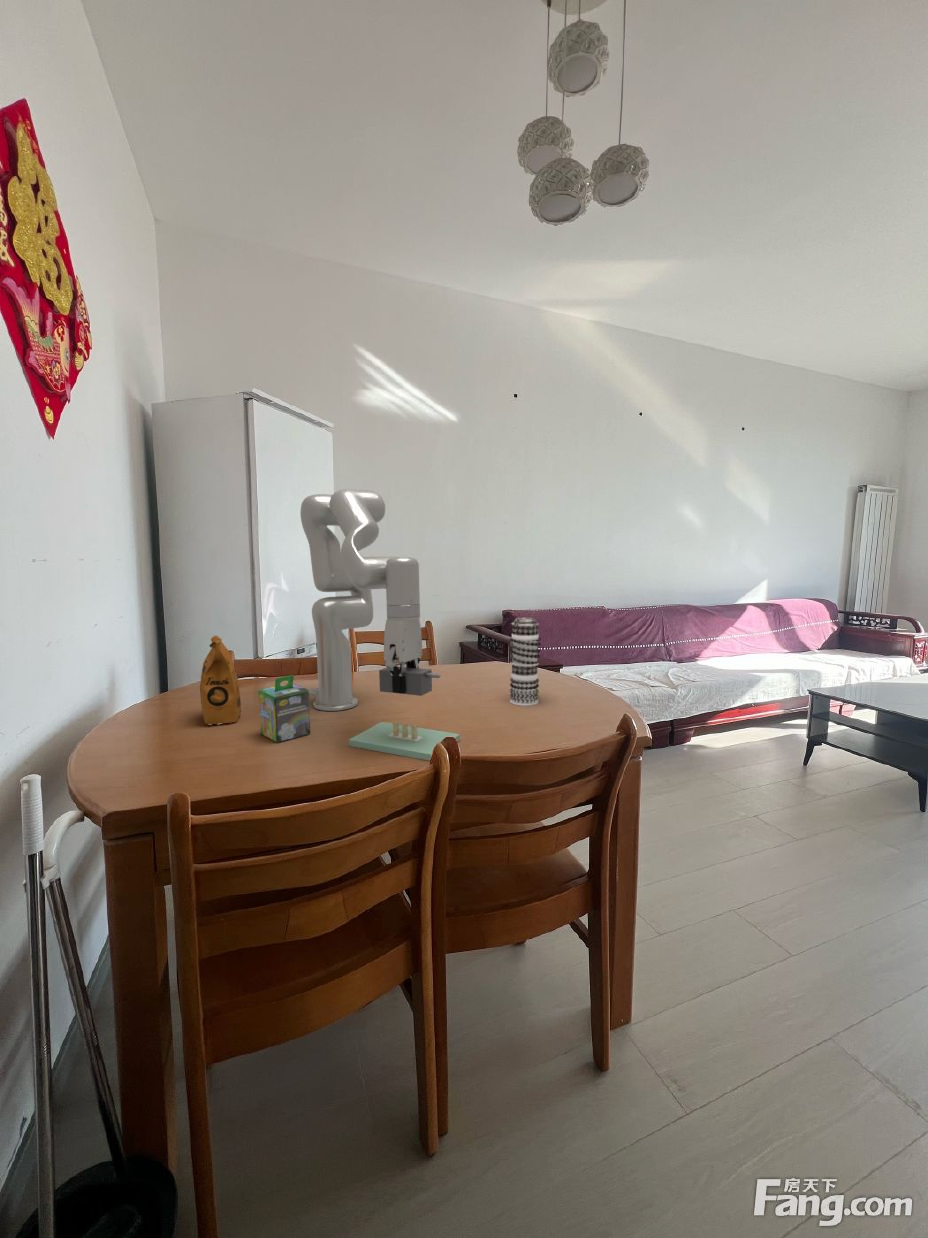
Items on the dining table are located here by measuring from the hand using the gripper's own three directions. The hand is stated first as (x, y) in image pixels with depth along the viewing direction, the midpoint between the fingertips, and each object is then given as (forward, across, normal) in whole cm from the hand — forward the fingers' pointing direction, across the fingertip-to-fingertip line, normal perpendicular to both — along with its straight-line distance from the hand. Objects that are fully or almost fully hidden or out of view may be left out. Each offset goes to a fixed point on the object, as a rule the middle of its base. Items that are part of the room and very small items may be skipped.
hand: (405, 689), depth 125 cm
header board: (+13, 0, -1) cm, 13 cm away
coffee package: (+12, +5, -55) cm, 56 cm away
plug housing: (0, 0, +2) cm, 2 cm away
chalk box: (+13, +7, -31) cm, 34 cm away
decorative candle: (+13, -44, +14) cm, 48 cm away
